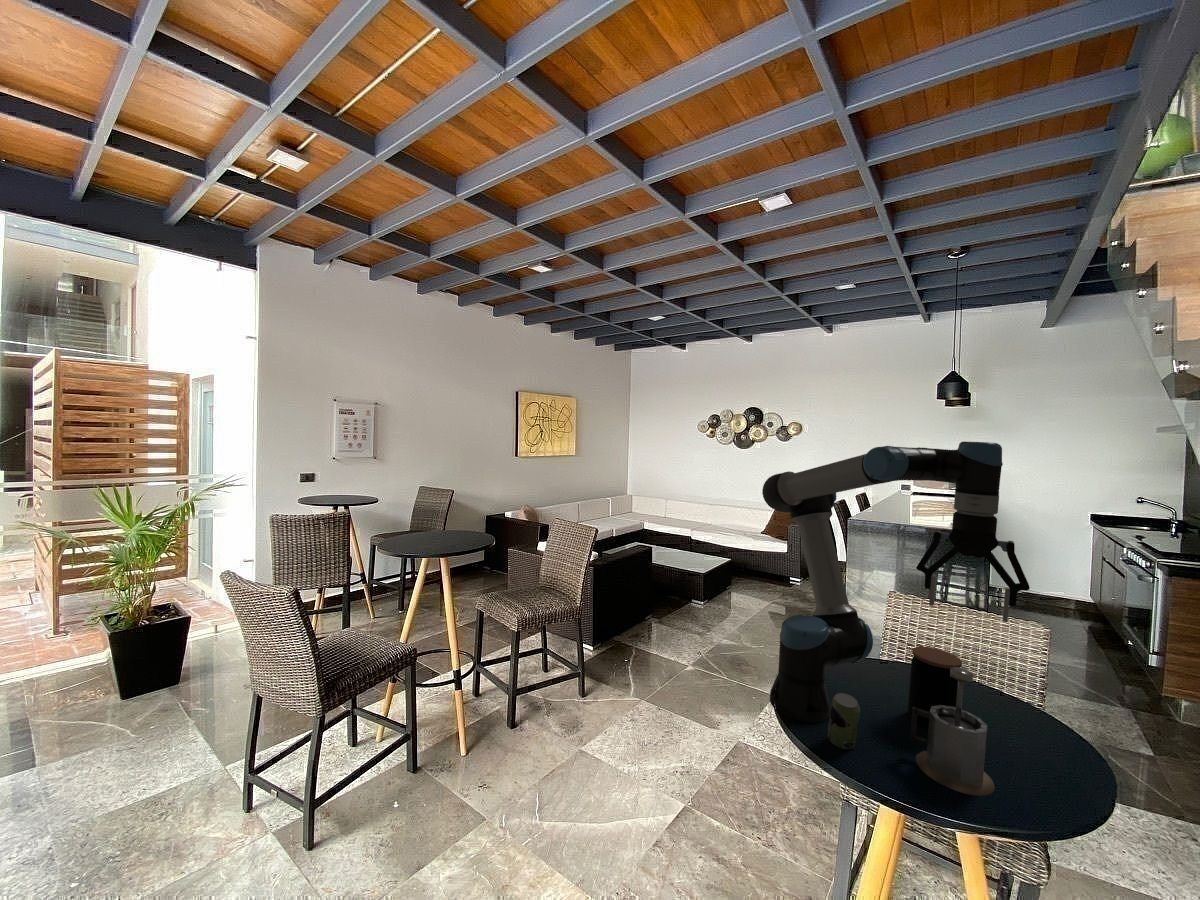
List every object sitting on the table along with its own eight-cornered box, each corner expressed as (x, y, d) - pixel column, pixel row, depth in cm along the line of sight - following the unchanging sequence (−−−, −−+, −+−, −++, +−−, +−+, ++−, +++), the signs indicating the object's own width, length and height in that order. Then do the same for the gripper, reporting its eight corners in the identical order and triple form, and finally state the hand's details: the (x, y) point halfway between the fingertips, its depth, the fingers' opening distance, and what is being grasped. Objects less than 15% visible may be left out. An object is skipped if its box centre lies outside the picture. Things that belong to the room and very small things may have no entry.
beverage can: (847, 736, 118) (850, 688, 118) (863, 757, 111) (866, 705, 110) (821, 735, 118) (824, 687, 118) (835, 755, 111) (839, 704, 110)
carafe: (905, 764, 108) (909, 712, 107) (912, 743, 116) (915, 694, 115) (981, 795, 99) (986, 738, 99) (983, 771, 107) (987, 718, 106)
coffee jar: (965, 739, 119) (971, 668, 119) (917, 732, 121) (923, 662, 121) (944, 715, 130) (949, 649, 129) (900, 708, 132) (905, 644, 131)
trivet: (911, 774, 106) (911, 772, 106) (920, 744, 116) (920, 742, 116) (993, 809, 97) (994, 806, 97) (995, 773, 107) (995, 770, 107)
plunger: (937, 729, 106) (941, 671, 105) (940, 716, 111) (944, 661, 110) (975, 742, 101) (980, 682, 101) (976, 728, 106) (981, 671, 106)
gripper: (906, 507, 109) (899, 601, 110) (1053, 524, 94) (1043, 633, 95) (911, 504, 115) (904, 593, 116) (1050, 520, 99) (1040, 623, 100)
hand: (966, 611), depth 105 cm, fingers open, 12 cm apart
